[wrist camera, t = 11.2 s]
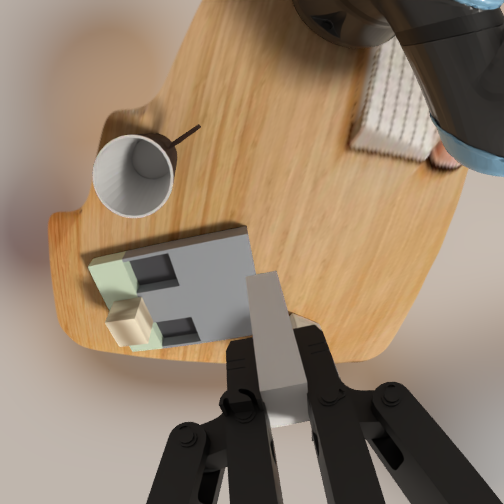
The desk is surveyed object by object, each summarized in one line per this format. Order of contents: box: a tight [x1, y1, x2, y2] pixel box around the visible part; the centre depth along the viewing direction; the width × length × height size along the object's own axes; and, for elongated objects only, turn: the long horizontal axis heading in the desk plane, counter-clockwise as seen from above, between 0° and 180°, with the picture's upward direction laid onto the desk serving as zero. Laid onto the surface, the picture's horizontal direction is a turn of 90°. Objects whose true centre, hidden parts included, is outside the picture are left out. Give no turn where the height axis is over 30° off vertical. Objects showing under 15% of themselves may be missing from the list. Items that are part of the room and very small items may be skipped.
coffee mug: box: [92, 124, 201, 218], centre depth 32 cm, size 12×9×10 cm
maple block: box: [105, 297, 153, 347], centre depth 42 cm, size 5×5×5 cm
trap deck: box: [88, 226, 256, 352], centre depth 45 cm, size 24×18×2 cm
